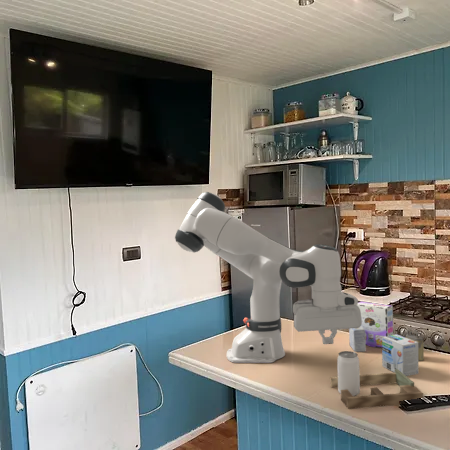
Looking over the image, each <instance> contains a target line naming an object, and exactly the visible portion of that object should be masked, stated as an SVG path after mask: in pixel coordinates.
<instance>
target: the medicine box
mask: <svg viewBox="0 0 450 450" xmlns="http://www.w3.org/2000/svg"><path fill="white" fill-rule="evenodd" d="M348 333H349V334H348V336H349V339H348V340H349V347H351V348H352V350H353V352H355V353H357V352H358V353H359V352H360V353H361V352H362V353H363V352H366V351H367V345H366V341H365V329H364V328H363V327H362V326H360V327H359V328H350V329H348Z"/></svg>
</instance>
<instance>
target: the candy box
mask: <svg viewBox="0 0 450 450" xmlns="http://www.w3.org/2000/svg"><path fill="white" fill-rule="evenodd" d="M357 306H358V307H359V308H360V312H361V319H362V325H361V326H362V327H363V328H364V329H365V341H366V347H373V348H377V349H381V350H382V337H385V336H390V335H394V310H393V309H394V308H393V307H394V306H393V305H390V304H389V305H388V304H382V303H376V302H375V303H374V302H368V301H363V300H362V301H358V304H357Z"/></svg>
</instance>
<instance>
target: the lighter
mask: <svg viewBox="0 0 450 450" xmlns="http://www.w3.org/2000/svg"><path fill="white" fill-rule="evenodd" d="M421 334H422V333H421V332H419V331H418V330H416V329H415V330H412V329H407V330H406V334H405V338H408V339H410V340H413V341H416V342H418V362H419V361H420V362H421V361H422V362H423V361H425V357H424V356H425V354H424V350H425V349H424V347H425V346H424V345H425V344H424V337H422V336H420V335H421Z"/></svg>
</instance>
